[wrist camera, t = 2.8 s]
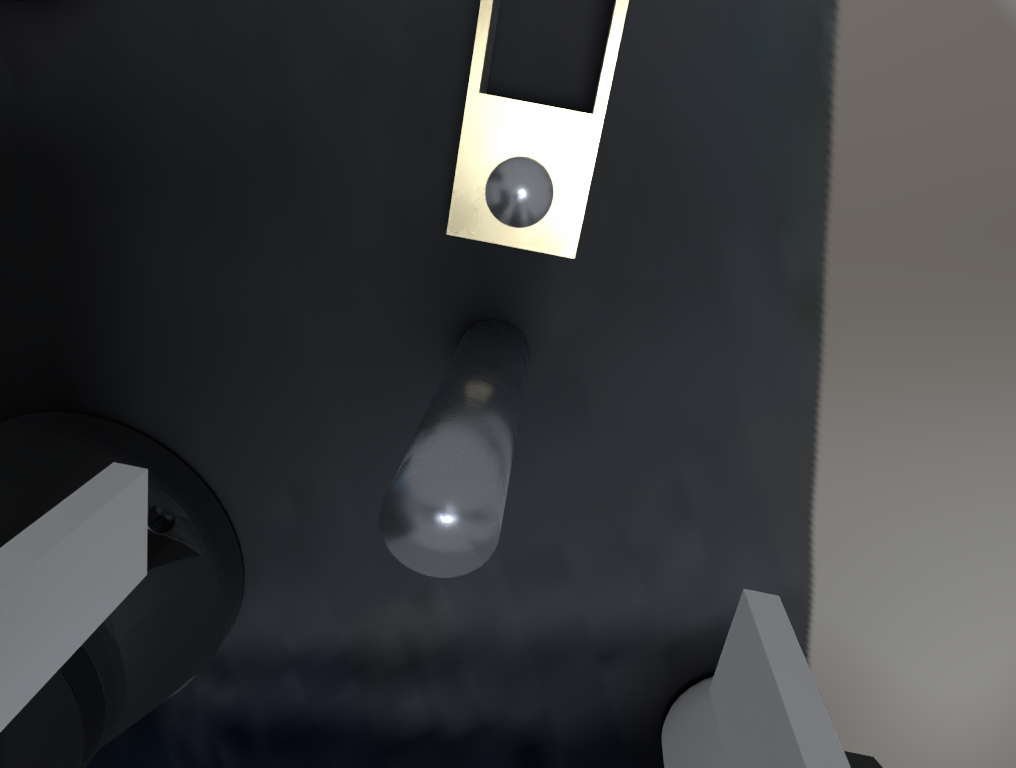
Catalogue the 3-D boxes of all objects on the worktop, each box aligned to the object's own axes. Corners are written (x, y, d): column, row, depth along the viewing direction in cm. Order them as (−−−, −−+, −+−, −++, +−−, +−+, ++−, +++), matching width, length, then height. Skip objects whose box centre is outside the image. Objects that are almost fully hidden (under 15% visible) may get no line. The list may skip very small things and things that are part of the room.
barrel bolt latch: (455, 225, 30) (443, 236, 27) (519, -194, 25) (512, -232, 22) (574, 247, 30) (574, 261, 27) (660, -168, 25) (672, -203, 22)
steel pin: (453, 380, 32) (372, 564, 19) (464, 313, 31) (387, 459, 18) (522, 393, 32) (489, 587, 19) (535, 326, 31) (510, 483, 18)
